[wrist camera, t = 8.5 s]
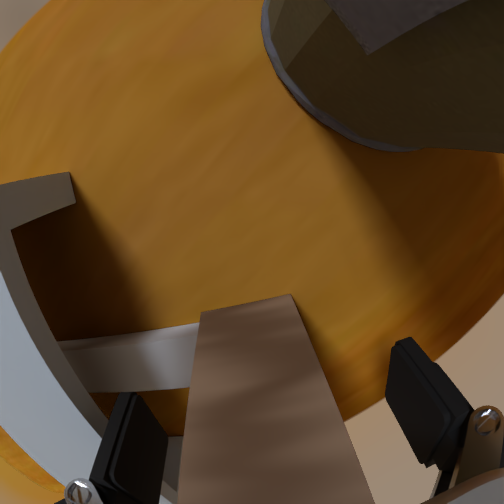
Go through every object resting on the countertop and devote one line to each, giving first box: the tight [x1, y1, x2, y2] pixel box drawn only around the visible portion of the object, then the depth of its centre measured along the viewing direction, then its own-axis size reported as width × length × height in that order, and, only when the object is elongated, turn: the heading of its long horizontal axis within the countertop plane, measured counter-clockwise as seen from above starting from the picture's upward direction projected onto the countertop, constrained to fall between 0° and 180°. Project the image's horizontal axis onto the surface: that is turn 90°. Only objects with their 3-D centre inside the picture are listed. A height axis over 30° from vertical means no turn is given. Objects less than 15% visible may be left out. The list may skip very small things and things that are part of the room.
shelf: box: [0, 172, 184, 504], centre depth 10 cm, size 8×18×6 cm, turn 11°
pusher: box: [57, 294, 375, 504], centre depth 8 cm, size 16×4×10 cm, turn 101°
